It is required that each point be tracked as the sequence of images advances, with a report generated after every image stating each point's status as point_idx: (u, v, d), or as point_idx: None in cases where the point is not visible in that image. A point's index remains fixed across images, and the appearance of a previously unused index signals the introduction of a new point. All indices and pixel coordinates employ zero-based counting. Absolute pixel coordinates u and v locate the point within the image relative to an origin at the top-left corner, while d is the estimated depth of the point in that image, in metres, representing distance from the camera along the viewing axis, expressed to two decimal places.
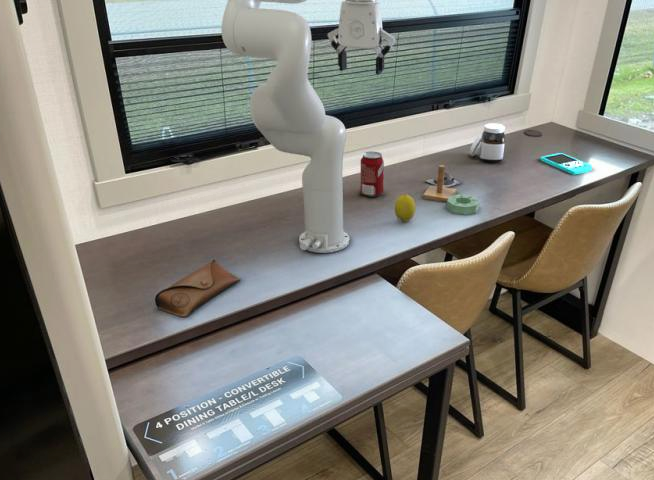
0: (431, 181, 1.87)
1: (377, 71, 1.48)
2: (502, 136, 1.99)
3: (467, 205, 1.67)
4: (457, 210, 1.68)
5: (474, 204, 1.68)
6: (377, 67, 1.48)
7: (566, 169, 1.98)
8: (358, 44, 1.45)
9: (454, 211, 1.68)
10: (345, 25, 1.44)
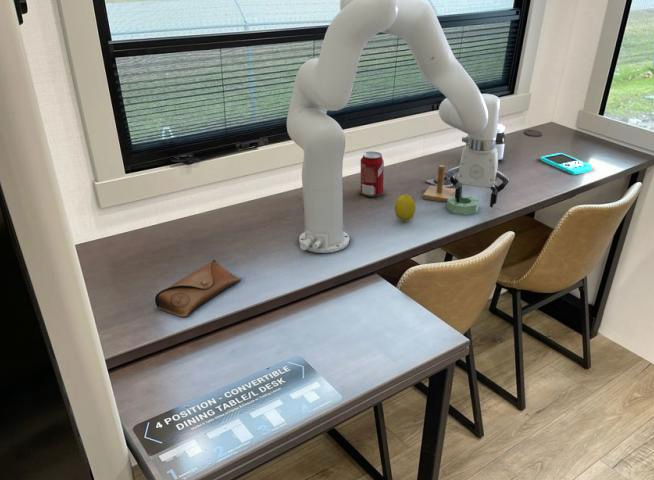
0: (431, 181, 1.87)
1: (491, 205, 1.67)
2: (502, 136, 1.99)
3: (467, 205, 1.67)
4: (457, 210, 1.68)
5: (474, 204, 1.68)
6: (491, 202, 1.66)
7: (566, 169, 1.98)
8: (476, 183, 1.64)
9: (454, 211, 1.68)
10: (466, 167, 1.62)
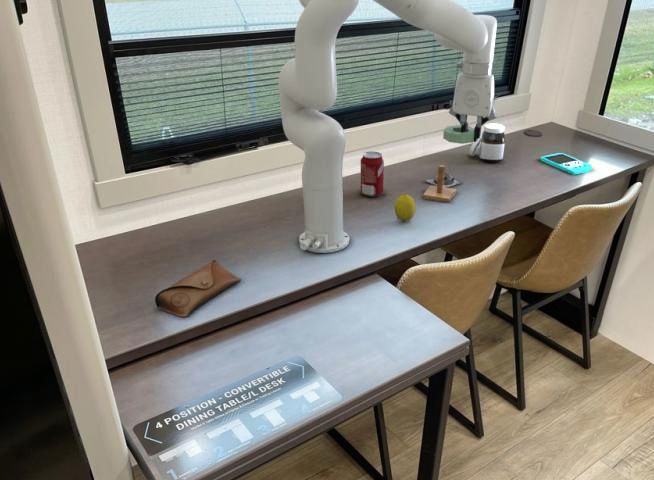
0: (431, 181, 1.87)
1: (474, 139, 1.61)
2: (502, 136, 1.99)
3: (464, 133, 1.60)
4: (454, 139, 1.61)
5: (472, 133, 1.61)
6: (475, 136, 1.61)
7: (566, 169, 1.98)
8: (472, 112, 1.57)
9: (451, 140, 1.61)
10: (460, 94, 1.56)
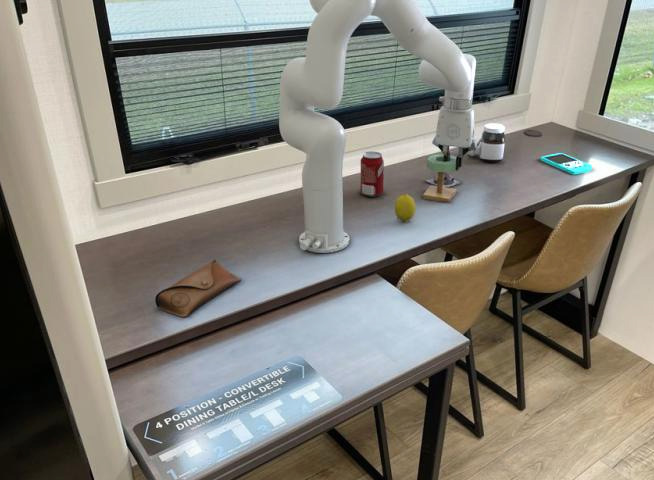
0: (431, 181, 1.87)
1: (456, 168, 1.71)
2: (502, 136, 1.99)
3: (447, 163, 1.70)
4: (437, 168, 1.70)
5: (454, 162, 1.71)
6: (457, 165, 1.71)
7: (566, 169, 1.98)
8: (453, 143, 1.67)
9: (434, 169, 1.71)
10: (443, 127, 1.65)
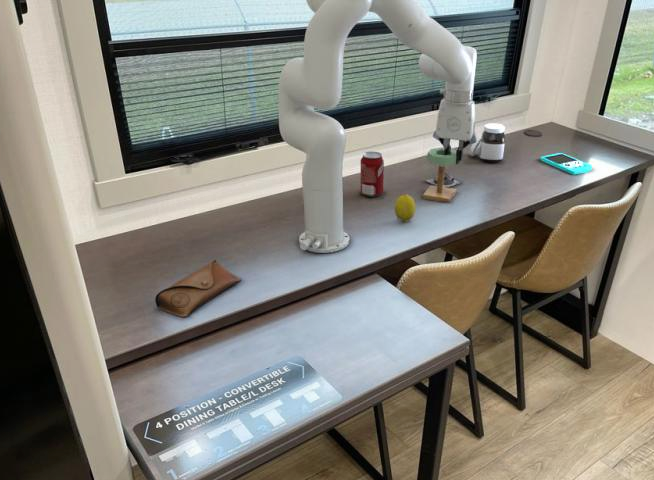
0: (431, 181, 1.87)
1: (457, 161, 1.70)
2: (502, 136, 1.99)
3: (447, 156, 1.69)
4: (437, 161, 1.69)
5: (454, 155, 1.70)
6: (457, 158, 1.70)
7: (566, 169, 1.98)
8: (454, 136, 1.65)
9: (434, 162, 1.70)
10: (443, 120, 1.64)
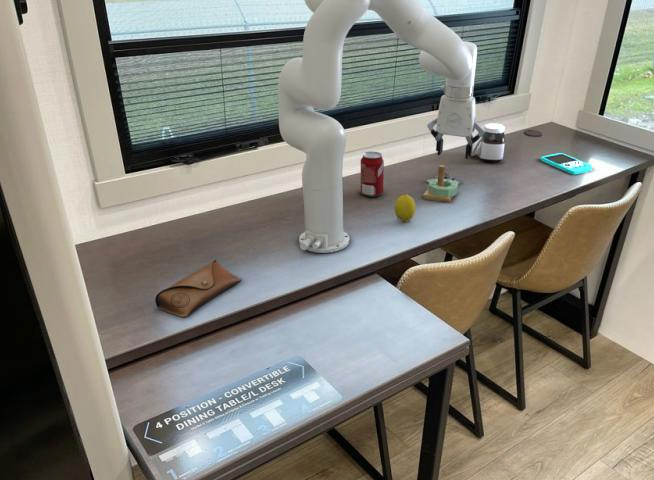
0: None
1: (466, 156, 1.69)
2: (502, 136, 1.99)
3: (449, 188, 1.75)
4: (440, 193, 1.75)
5: (455, 186, 1.76)
6: (467, 153, 1.68)
7: (566, 169, 1.98)
8: (454, 132, 1.65)
9: (437, 194, 1.75)
10: (444, 116, 1.64)
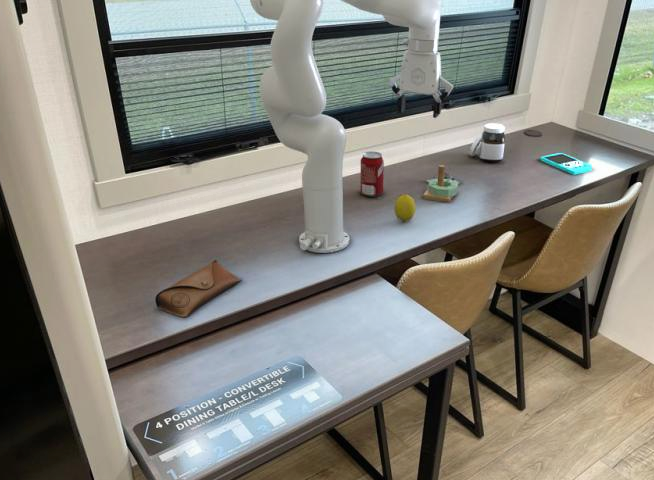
0: None
1: (434, 115, 1.59)
2: (502, 136, 1.99)
3: (449, 188, 1.75)
4: (440, 193, 1.75)
5: (455, 186, 1.76)
6: (435, 111, 1.58)
7: (566, 169, 1.98)
8: (418, 90, 1.56)
9: (437, 194, 1.75)
10: (407, 72, 1.55)
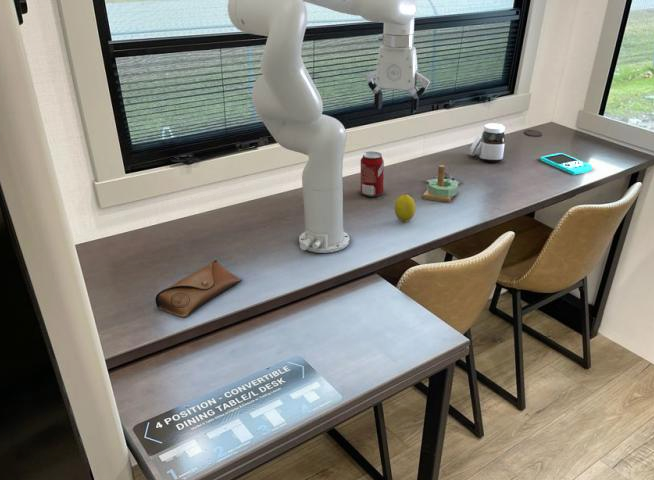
0: None
1: (412, 111, 1.56)
2: (502, 136, 1.99)
3: (449, 188, 1.75)
4: (440, 193, 1.75)
5: (455, 186, 1.76)
6: (412, 107, 1.56)
7: (566, 169, 1.98)
8: (395, 86, 1.53)
9: (437, 194, 1.75)
10: (382, 68, 1.52)
